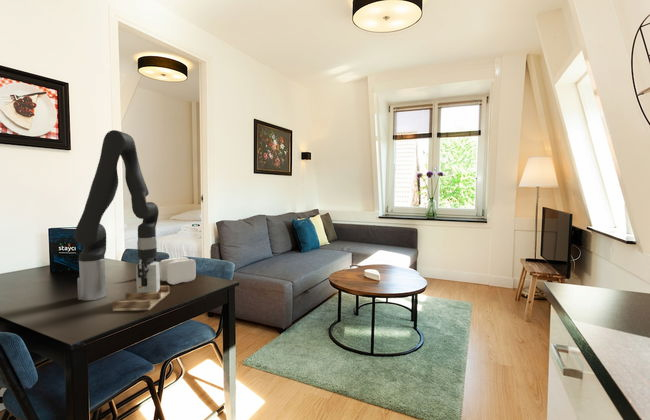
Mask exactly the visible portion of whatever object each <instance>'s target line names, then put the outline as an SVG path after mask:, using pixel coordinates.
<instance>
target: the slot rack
mask: <svg viewBox="0 0 650 420" xmlns="http://www.w3.org/2000/svg"><path fill="white" fill-rule="evenodd" d="M170 290H171V289H170V285H160V290H159V291H158V292H155V293H137V291H136V292H126V293H125V299H124V300H114V301H112V311H113V312H115V311H116V312H118V311H120V312H121V311H123V312H124V311H150V310H152V308H154V307H155V306H156V305H157V304H158V303H159V302H161V301H162V300H163V299H164V298H166V297H167V296H168V295H169V294H170V293H171V292H170Z"/></svg>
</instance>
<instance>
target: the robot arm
mask: <svg viewBox="0 0 650 420" xmlns="http://www.w3.org/2000/svg"><path fill="white" fill-rule="evenodd" d="M101 145H102V146H101V151H100V156H99V160H98V164H97V167H96V169H95V170H96V171H95V174H94V177H93V179H92V183H91V186H90V188H89V193H88V196H87V198H86V199H87V200H86V201H85V206H84V209H83V212H82V214H81V217H80V219H79V221H78V223H77V225H76V227H75V230H74V235H73V237H74V240H75V242H76V243H77V244H78V245H80V246H83V247H82V249H81V252H80V253H79V255H78V267H79V271H78V272H79V276H78V278H77V299H78V300H79V301H96V300H100V299H103V298H105V297H106V296H107V295H106V294H107V293H106V292H107V289H106V264H105V263H106V261H105V254H106V251H107V232H106V228H105V227H104V225H103V224H102V223H101V220H102V219H103V218H102V217H103V216H104V214H105V212H106V211H107V209H108V208H109V206H110V205H111V203H112V202H113V200H114V199H115V196H116V194H117V190H118V188H119V187H118V186H119V176H118V162H119V161H120V157H121V159H122V161H123V165H124V169H125V170H124V171H125V173H124V174H125V183H126V186H127V189H128V192H129V194H130V197H131V198H130V200H131V209H132V212H133V215H135V217H136V218H138V219H140V220H142V222H141V223H139V225H137V242H136V243H137V245H136V246H137V258H138V259H140V260H142V261H141V264H139V263H138V264H136V265H137V268H138V278H141V286H142V287H146V286H147V275H148V273H149V268H148V269H147V270H146V271H145V268H147V265H150V264H151V263H154V262H158V261H157V259H158V258H157V256H158V250H157V249H158V248H157V245H158V244H157V234H156V233H157V232H156V226H157V224H158V219H159V212H160V211H159V207H158V205H157V204H156V203H154V202H153V201H147V199H146V197H147V196H148V195H149V194H150V193H149V190H148V187H147V184H146V181H145V179H144V175H143V173H142V170H141V166H140V162H139V158H138V152H137V148H136V142H135V140H134V138H133V137H132V136H131V135H130V134H128V133H125V132H124V131H120V130H116V129H115V130H114V129H113V130H109V131H108V132H107V133H106V134H105V135H104V138H103V141H102V144H101ZM140 273H141V275H140Z"/></svg>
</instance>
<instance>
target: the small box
mask: <svg viewBox="0 0 650 420" xmlns="http://www.w3.org/2000/svg"><path fill="white" fill-rule="evenodd" d="M159 263H160V261H157V262H154V263H151V264H150V265H147V268H145V271H146V270H147V269H148V268H149V273H148V275H147V286H146V287H142V286H141V278H138V268H137V265H138V264H141V263H140V262H138V264H136V265H135V270H136V271H135V276H136V277H135V281H136V292H137V293H155V292H158V291H159V290H160V286H161V280H160V274H159ZM140 275H141V273H140Z"/></svg>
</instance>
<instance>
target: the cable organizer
mask: <svg viewBox="0 0 650 420" xmlns="http://www.w3.org/2000/svg"><path fill="white" fill-rule="evenodd" d="M196 263H197V262H196V260H195V259H192V258H190V259H189V258H188V257H186V256H182V257H175V258H168V259H167V258H166V259H162V260H160V261H159V274H160V281H162V282H166V283H168V284H170V285H177V284H181V283H189V282H192V281H194V280H195V279H196V277H197V276H196V271H197V270H196V269H197V267H196V265H197V264H196Z"/></svg>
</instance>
